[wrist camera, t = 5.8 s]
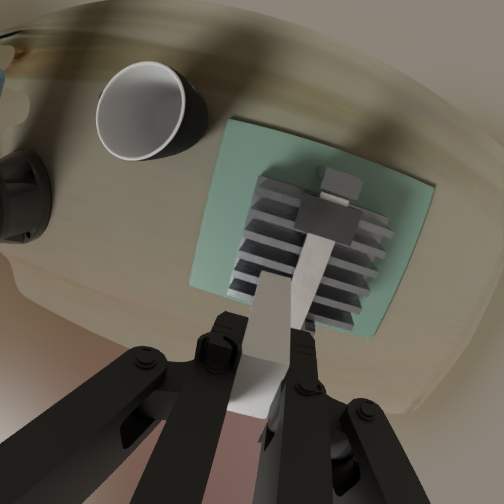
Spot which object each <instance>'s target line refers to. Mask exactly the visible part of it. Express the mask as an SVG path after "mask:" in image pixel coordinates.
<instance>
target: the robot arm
mask: <svg viewBox="0 0 504 504" xmlns="http://www.w3.org/2000/svg"><path fill="white" fill-rule="evenodd" d="M4 81H5V74H4V72H3V70H2V69H1V68H0V96H1V92H2V88H3V85H4ZM50 210H51V190H50V183H49V179H48V175H47V172H46V169H45V167H44V165H43V163H42V161H41V160H40V159H39V157H38V156H37V155H36V154H34V153H33V152H31V151H28V150H23V151H15V152H12V153H9V154H8V155H6V156H4V157H2V158H1V159H0V243H7V244H25V243H28V242H30V241H33V240H35V239H37V238H39V237H40V236H41V235H42V233H43V232H44V230H45V229H46V226H47V224H48V221H49V216H50ZM315 349H316V348H315V340H314V338H313V337H312V335H311V334H310V332H307V331H303V330H299V329H294V328H291V278H288V277H284V276H280V275H277V274H273V273H269V272H266V271H262V270H261V274H260V278H259V281H258V285H257V289H256V292H255V296H254V299H253V303H252V307H251V310H250V314H249V317H245V316H241V315H237V314H234V313H230V312H227V311H225V312H223V313H222V314H220V315H218V316H217V318H216V320H215V323H214V325H213V327H212V329H211V331H210V332H209V333H206V334H203V335H201V336H200V338H199V339H198V341H197V347H196V352H195V358H194V360H191V361H188V362H170V361H167V359H166V357H165V356H164V354H163V353H161V352H160V351H159V350H157V349H155V348H152V347H147V346H138V347H134V348H132V349H129V350H128V351H126V352H125V353H124V354H122V355H121V356H120V357H118V358H117V359H116V360H114V361H113V362H111V363H110V364H109V365H108V366H106V367H105V368H103V369H102V370H101V371H99V372H98V373H97V374H95V375H94V376H93V377H91V378H90V379H88V380H87V381H86V382H84V383H83V384H82V385H80V386H79V387H78V388H76V389H75V390H74V391H72V392H71V393H69V394H68V395H67V396H65V397H64V398H63V399H61V400H60V401H58V402H57V403H56V404H54V405H53V406H51V407H50V408H49V409H47V410H46V411H45V412H43V413H42V414H40V415H39V416H38V417H36V418H35V419H34V420H32V421H31V422H29V423H28V424H27V425H25V426H24V427H23V428H21V429H20V430H19V431H17V432H16V433H15V434H13V435H12V436H10V437H9V438H7V439H6V440H5V441H3V442H2V443H1V444H0V504H82V503H83V502H84V501H85V500H86V499H87V498H88V497H89V496H90V495H91V494H92V493H93V492H94V491H95V490H96V489H97V488H98V487H99V486H100V485H101V484H102V483H103V482H104V481H105V480H106V479H107V478H108V477H109V476H110V475H111V474H112V473H113V472H114V471H115V470H116V469H117V468H118V467H119V466H120V465H121V464H122V463H123V461H125V459H126V458H127V457H128V456H129V455H130V454H131V453H132V452H133V451H134V450H135V449H136V448H137V447H138V446H139V445H140V444H141V442H142V441H143V440H144V439H145V438H146V437H147V436H148V435H149V434H150V433H151V432H152V431H153V429H154V428H155V427H156V426H157V425H158V424H159V423H160V422H161V420H167V421H166V424H165V425H164V428H163V430H162V432H161V434H160V436H159V439H158V441H157V443H156V445H155V448H154V450H153V452H152V454H151V457H150V459H149V461H148V463H147V465H146V468H145V470H144V472H143V474H142V477H141V479H140V481H139V483H138V486H137V488H136V490H135V492H134V495H133V497H132V499H131V501H130V504H201V503H202V499H203V495H204V492H205V489H206V485H207V481H208V478H209V474H210V470H211V467H212V463H213V459H214V455H215V452H216V448H217V444H218V440H219V437H220V433H221V429H222V425H223V422H224V418H225V414H226V410H229V411H232V412H236V413H240V414H244V415H248V416H253V417H257V418H262V419H266V417H267V415H268V413H269V416H268V422H267V424H266V426H265V428H264V430H263V432H262V434H261V436H260V438H259V441H258V442H259V443H261V442H262V445H261V452H260V459H259V465H258V472H257V479H256V485H255V491H254V497H253V503H252V504H430V501H429V499H428V498H427V495H426V493H425V491H424V489H423V487H422V485H421V483H420V481H419V479H418V477H417V475H416V473H415V471H414V469H413V467H412V465H411V463H410V461H409V459H408V457H407V455H406V454H405V452H404V450H403V448H402V446H401V444H400V442H399V440H398V438H397V436H396V434H395V432H394V431H393V429H392V427H391V425H390V423H389V421H388V419H387V417H386V416H385V414H384V412H383V410H382V409H381V408H380V406H379V405H377V404H376V403H375V402H373V401H371V400H368V399H365V398H357V399H353V400H352V401H351V402H350V403H349V404H348V405H347V404H345V403H342V402H340V401H337V400H335V399H333V398H331V397H329V396H328V395H327V394H326V390H325V387H324V385H323V384H322V383H321V382H320V381H319V380H318V371H317V359H316V350H315Z"/></svg>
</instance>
